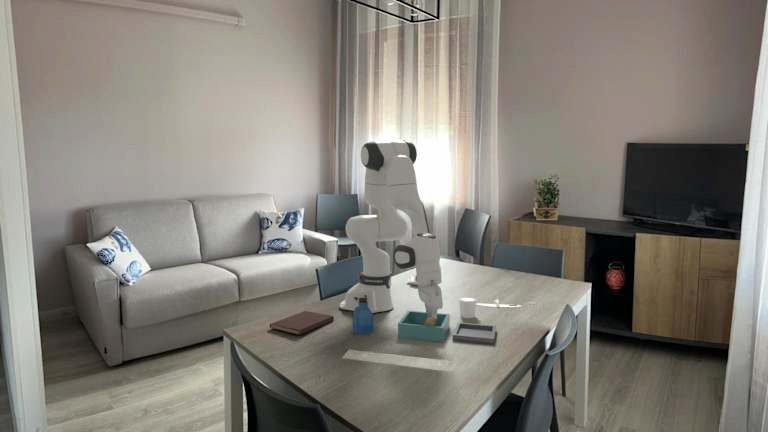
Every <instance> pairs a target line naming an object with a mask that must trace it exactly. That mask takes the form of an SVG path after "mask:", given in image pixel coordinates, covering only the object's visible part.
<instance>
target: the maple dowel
mask: <svg viewBox="0 0 768 432" xmlns="http://www.w3.org/2000/svg"><path fill="white" fill-rule="evenodd" d="M435 323H436V320H435V318H434V317H433V318H432V317H428V318H427V320H426V322H425V325H427V326H434V325H435Z"/></svg>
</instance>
